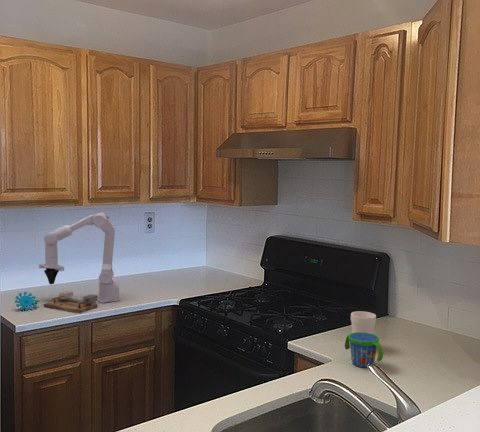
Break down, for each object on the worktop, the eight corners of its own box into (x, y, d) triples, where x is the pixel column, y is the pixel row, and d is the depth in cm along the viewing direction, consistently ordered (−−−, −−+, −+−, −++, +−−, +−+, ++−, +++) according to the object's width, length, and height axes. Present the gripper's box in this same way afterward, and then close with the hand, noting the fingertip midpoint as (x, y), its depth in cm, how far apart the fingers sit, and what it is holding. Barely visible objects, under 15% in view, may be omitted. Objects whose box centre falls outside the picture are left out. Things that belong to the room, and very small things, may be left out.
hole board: (61, 301, 266) (61, 297, 266) (97, 307, 257) (97, 303, 257) (43, 307, 255) (43, 303, 255) (80, 313, 246) (80, 309, 246)
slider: (66, 297, 265) (66, 290, 265) (72, 298, 264) (72, 291, 263) (49, 302, 255) (49, 295, 255) (56, 303, 254) (56, 296, 253)
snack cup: (336, 359, 195) (337, 332, 194) (358, 354, 201) (359, 328, 200) (367, 374, 182) (368, 345, 181) (389, 369, 187) (391, 340, 186)
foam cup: (358, 341, 216) (360, 310, 214) (379, 347, 209) (380, 315, 208) (344, 346, 209) (346, 314, 208) (365, 353, 202) (366, 319, 201)
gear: (15, 309, 245) (14, 290, 250) (12, 316, 248) (11, 297, 254) (40, 309, 251) (39, 291, 257) (37, 316, 255) (35, 298, 260)
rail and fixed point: (63, 298, 266) (63, 290, 266) (97, 303, 258) (97, 295, 257) (46, 303, 256) (46, 295, 256) (81, 309, 248) (81, 300, 247)
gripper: (34, 256, 263) (34, 283, 265) (56, 259, 257) (57, 287, 259) (44, 254, 270) (45, 280, 271) (67, 257, 264) (67, 284, 265)
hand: (51, 283), depth 265 cm, fingers closed
